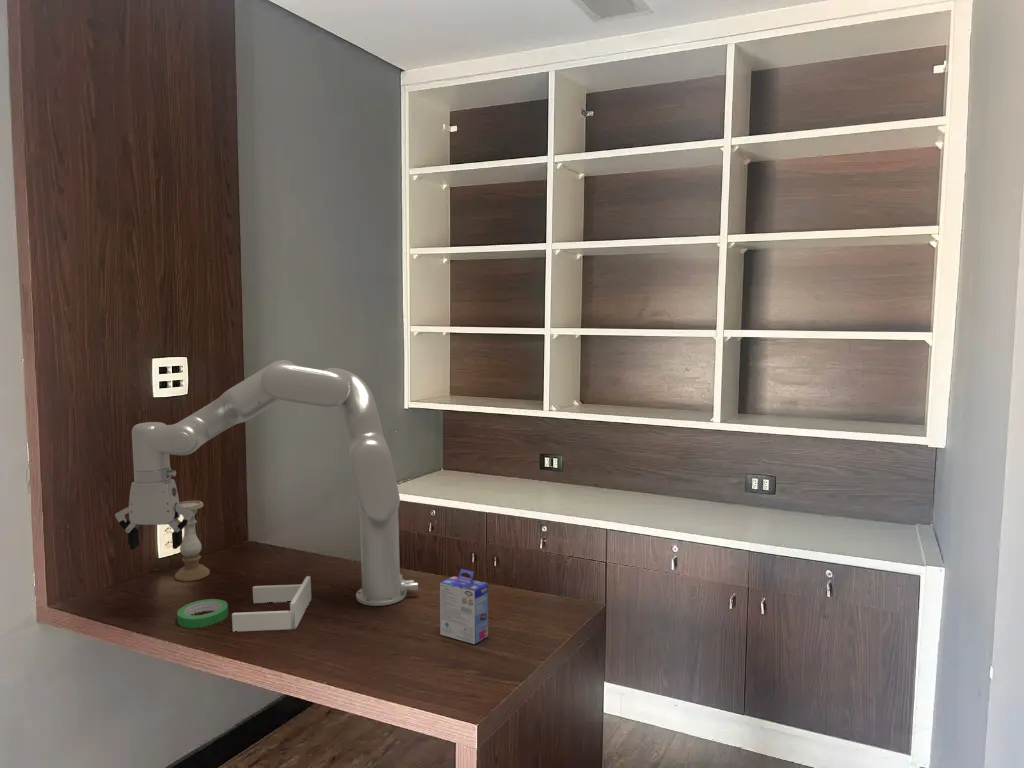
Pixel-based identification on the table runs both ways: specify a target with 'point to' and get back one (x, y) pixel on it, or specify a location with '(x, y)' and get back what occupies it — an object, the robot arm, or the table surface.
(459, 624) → the ink cartridge box
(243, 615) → the box
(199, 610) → the tape roll
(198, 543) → the candle holder
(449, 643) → the table surface
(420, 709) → the table surface
